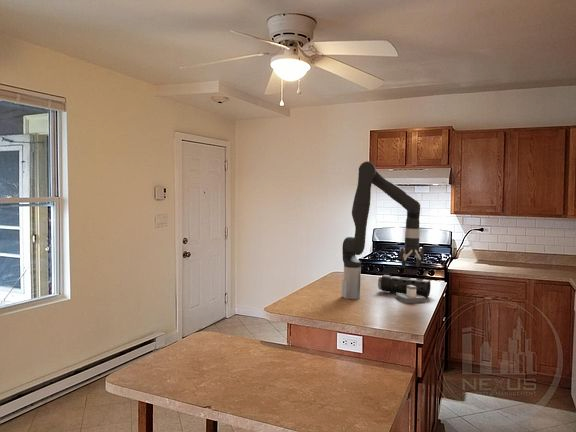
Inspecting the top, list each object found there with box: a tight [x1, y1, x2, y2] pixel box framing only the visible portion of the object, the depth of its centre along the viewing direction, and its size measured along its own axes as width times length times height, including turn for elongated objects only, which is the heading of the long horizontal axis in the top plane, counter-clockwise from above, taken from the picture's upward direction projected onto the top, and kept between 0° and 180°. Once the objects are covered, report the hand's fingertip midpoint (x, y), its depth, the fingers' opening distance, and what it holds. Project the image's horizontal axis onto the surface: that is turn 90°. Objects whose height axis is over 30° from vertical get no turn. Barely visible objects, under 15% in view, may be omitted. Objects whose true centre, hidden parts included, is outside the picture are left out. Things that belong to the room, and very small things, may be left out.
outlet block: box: [395, 293, 427, 304], centre depth 234 cm, size 12×10×3 cm
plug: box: [407, 285, 416, 297], centre depth 234 cm, size 3×4×8 cm
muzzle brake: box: [377, 274, 432, 299], centre depth 248 cm, size 10×28×10 cm, turn 61°
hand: (410, 266), depth 234 cm, fingers open, 8 cm apart
